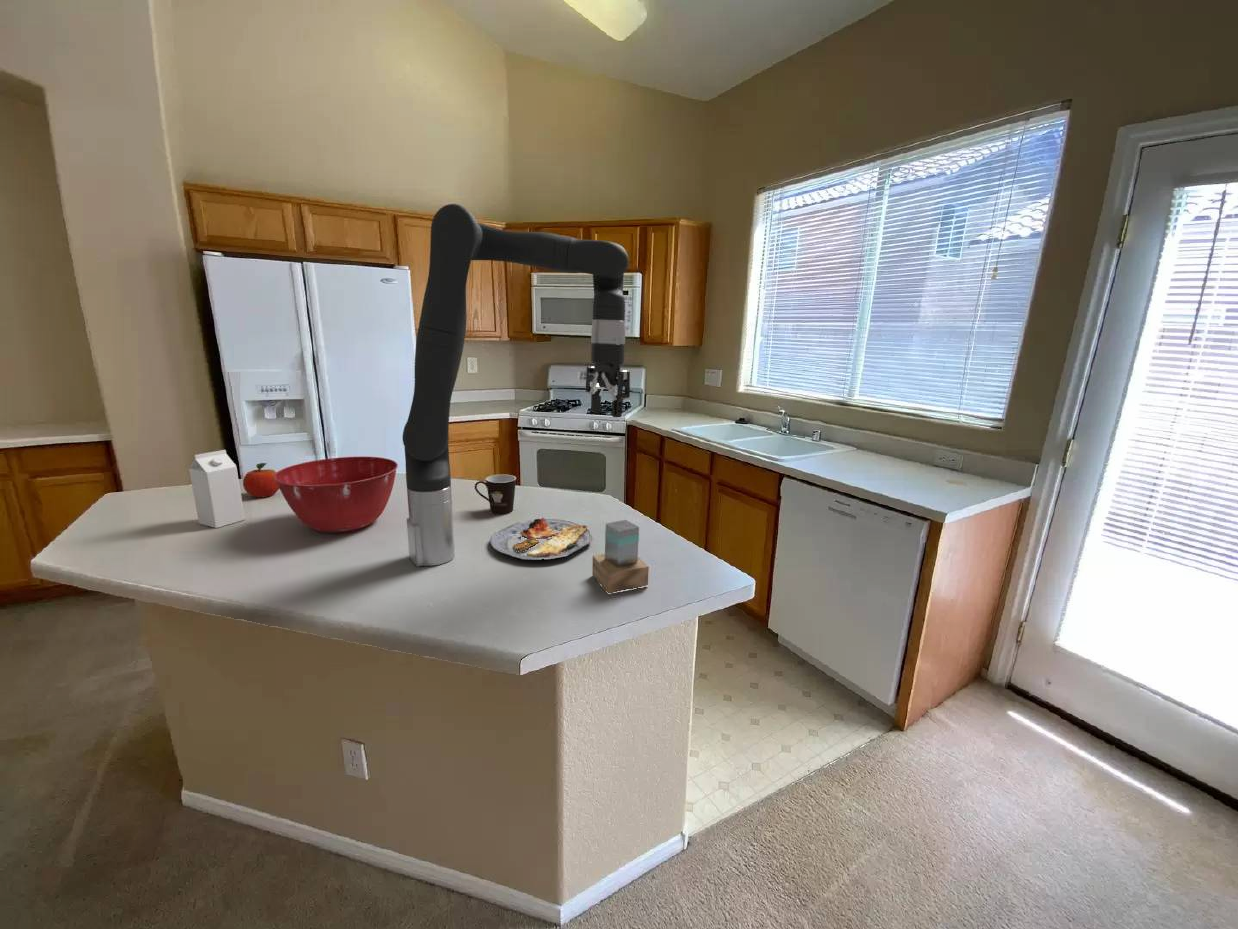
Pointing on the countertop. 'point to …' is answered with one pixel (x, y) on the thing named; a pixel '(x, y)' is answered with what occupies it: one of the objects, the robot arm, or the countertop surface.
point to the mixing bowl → (338, 491)
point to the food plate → (542, 529)
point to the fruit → (260, 482)
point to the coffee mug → (500, 493)
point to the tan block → (619, 574)
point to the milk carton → (216, 489)
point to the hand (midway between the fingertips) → (606, 414)
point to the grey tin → (621, 543)
